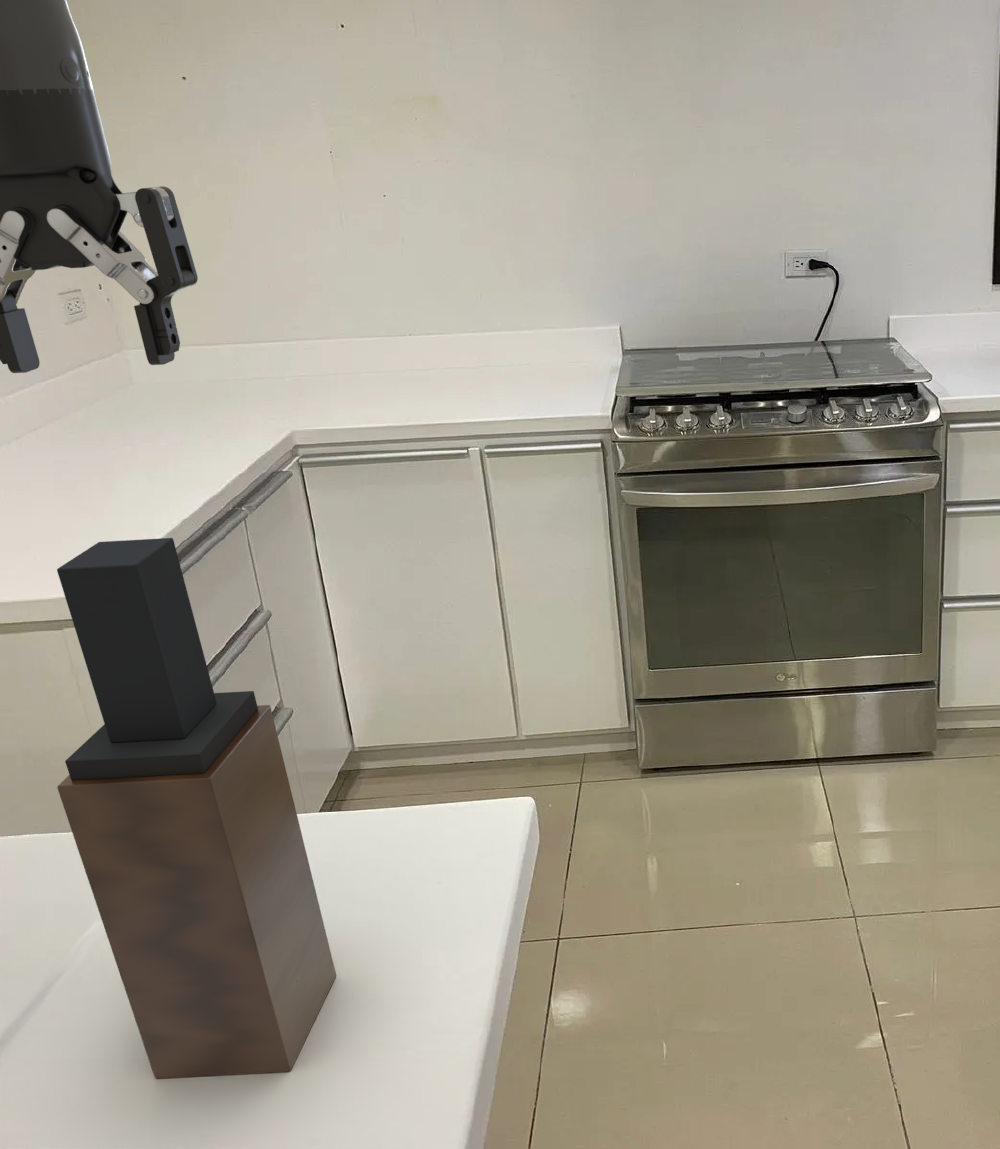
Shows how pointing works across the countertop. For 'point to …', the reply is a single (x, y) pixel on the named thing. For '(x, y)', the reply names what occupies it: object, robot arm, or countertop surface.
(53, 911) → the countertop surface
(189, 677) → the foam block
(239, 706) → the rubber pad
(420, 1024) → the countertop surface
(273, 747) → the block
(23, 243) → the robot arm
